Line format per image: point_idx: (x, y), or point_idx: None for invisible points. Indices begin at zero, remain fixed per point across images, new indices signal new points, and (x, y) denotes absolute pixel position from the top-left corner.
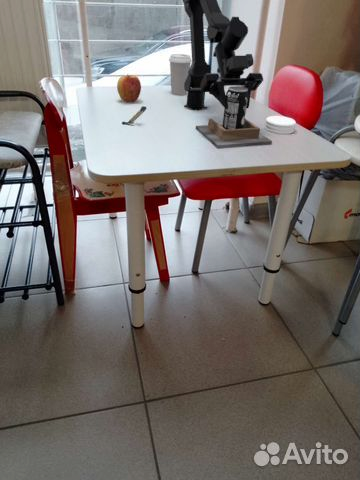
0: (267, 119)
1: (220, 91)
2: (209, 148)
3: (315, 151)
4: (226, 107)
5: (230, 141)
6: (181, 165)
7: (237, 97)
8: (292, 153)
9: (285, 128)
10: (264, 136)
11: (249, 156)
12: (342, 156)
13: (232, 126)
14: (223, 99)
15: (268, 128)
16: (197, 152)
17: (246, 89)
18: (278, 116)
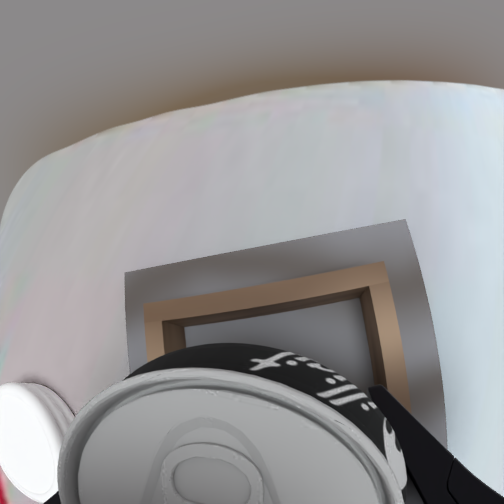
0: None
1: (499, 495)
2: (433, 229)
3: (44, 212)
4: (382, 391)
5: (333, 270)
6: (493, 110)
7: (283, 351)
8: (110, 188)
9: (28, 386)
10: (129, 337)
11: (279, 150)
12: (20, 184)
13: (305, 356)
14: (434, 441)
15: None
16: (473, 190)
17: (72, 496)
18: (19, 485)
